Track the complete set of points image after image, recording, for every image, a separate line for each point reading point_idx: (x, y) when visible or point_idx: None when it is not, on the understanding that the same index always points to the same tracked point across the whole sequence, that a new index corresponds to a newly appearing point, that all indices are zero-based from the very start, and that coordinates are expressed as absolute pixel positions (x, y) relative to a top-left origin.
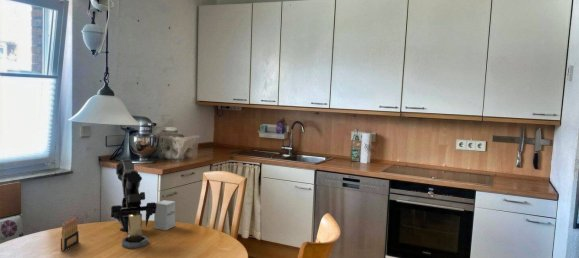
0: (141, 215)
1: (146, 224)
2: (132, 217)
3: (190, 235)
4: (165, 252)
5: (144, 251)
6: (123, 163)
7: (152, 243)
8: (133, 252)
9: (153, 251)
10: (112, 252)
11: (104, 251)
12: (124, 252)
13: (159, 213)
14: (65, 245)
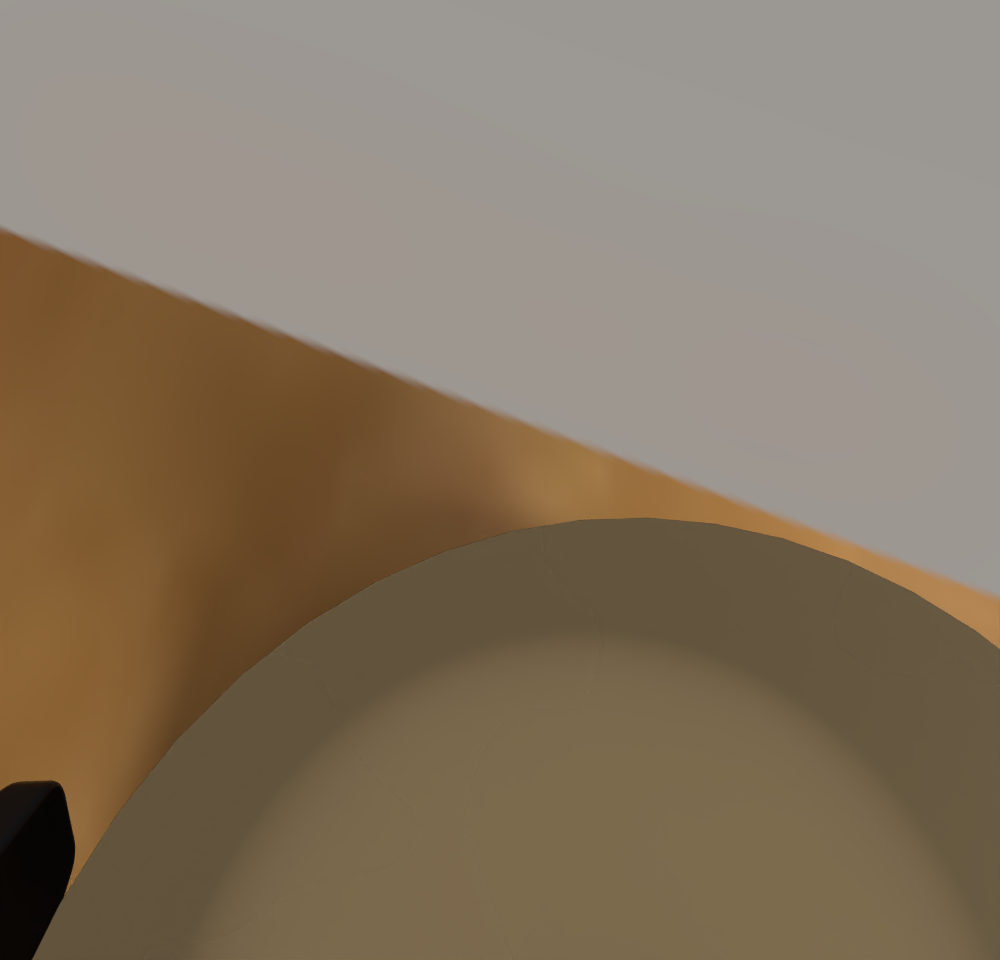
0: (90, 887)
1: (34, 785)
2: (843, 598)
3: None
4: (43, 244)
5: (351, 402)
6: None
7: (97, 794)
8: (526, 423)
9: (210, 350)
10: (852, 544)
11: (990, 640)
12: (665, 475)
13: None
14: None
